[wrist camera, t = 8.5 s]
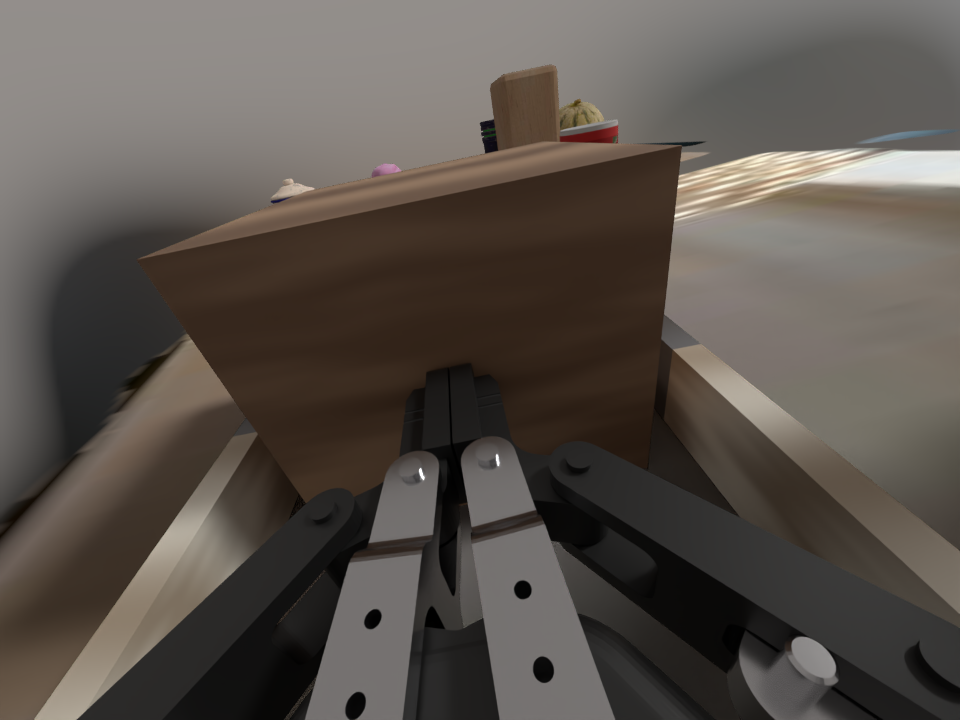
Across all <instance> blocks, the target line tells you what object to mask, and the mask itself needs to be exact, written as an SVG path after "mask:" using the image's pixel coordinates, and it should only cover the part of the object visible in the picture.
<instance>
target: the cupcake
mask: <svg viewBox="0 0 960 720" xmlns="http://www.w3.org/2000/svg"><path fill="white" fill-rule="evenodd" d="M400 171H401V170H400V169H399V168H398V167H396V166H395V165H394V164H382V165H380V166H379V167H376V168H375V169H374V170H373V172H372V177H376V176H381V175H386V174H391V173H395V172H400Z"/></svg>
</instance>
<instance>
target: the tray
mask: <svg viewBox="0 0 960 720" xmlns="http://www.w3.org/2000/svg"><path fill="white" fill-rule="evenodd" d="M654 408H655V409H656V411H657V412H658V413H659V414H660V416H661V417H662V418H663V419H664V421H665V422H666V423H667V425H668V426H669V427H670V428H671V430H672V431H673V432H674V434H675V435H676V436H677V437H678V439H679V440H680V441H681V442H682V444H683V445H684V446H685V448H686V449H687V450H688V451H689V453H690V454H691V455H692V457H693V458H694V459H695V460H696V462H697V463H698V464H699V465H700V467H701V468H702V469H703V471H704V472H705V473H706V474H707V476H708V477H709V478H710V479H711V481H712V482H713V483H714V485H715V486H716V487H717V488H718V490H719V491H720V492H721V494H722V495H723V496H724V497H725V499H726V500H727V501H728V502H729V504H730V505H731V506H732V508H733V509H734V510H735V511H736V513H737V514H738V515H739V517H740V518H742V519H744V520H746V521H748V522H750V523H752V524H754V525H756V526H758V527H760V528H762V529H764V530H766V531H768V532H770V533H772V534H774V535H776V536H778V537H780V538H782V539H784V540H786V541H788V542H790V543H792V544H794V545H796V546H798V547H800V548H802V549H804V550H806V551H808V552H810V553H812V554H814V555H816V556H818V557H820V558H822V559H824V560H826V561H828V562H830V563H832V564H834V565H836V566H838V567H840V568H842V569H844V570H846V571H848V572H850V573H852V574H854V575H856V576H858V577H860V578H862V579H864V580H866V581H868V582H870V583H872V584H874V585H876V586H878V587H880V588H882V589H884V590H886V591H888V592H890V593H892V594H894V595H896V596H898V597H900V598H902V599H904V600H906V601H908V602H910V603H912V604H914V605H916V606H918V607H920V608H922V609H924V610H926V611H928V612H930V613H932V614H934V615H936V616H938V617H940V618H942V619H944V620H946V621H948V622H950V623H952V624H954V625H955V626H957V627H959V628H960V551H959V550H958V549H957V548H955V547H954V546H953V545H952V544H950V543H949V542H948V541H947V540H945V539H944V538H943V537H942V536H940V535H939V534H938V533H937V532H935V531H934V530H933V529H932V528H930V527H929V526H928V525H927V524H925V523H924V522H923V521H922V520H920V519H919V518H918V517H917V516H915V515H914V514H913V513H912V512H910V511H909V510H908V509H907V508H905V507H904V506H903V505H902V504H900V503H899V502H898V501H897V500H895V499H894V498H893V497H892V496H890V495H889V494H888V493H887V492H885V491H884V490H883V489H882V488H880V487H879V486H878V485H877V484H875V483H874V482H873V481H872V480H870V479H869V478H868V477H867V476H865V475H864V474H863V473H862V472H860V471H859V470H858V469H857V468H855V467H854V466H853V465H852V464H850V463H849V462H848V461H847V460H845V459H844V458H843V457H842V456H840V455H839V454H838V453H837V452H835V451H834V450H833V449H832V448H830V447H829V446H828V445H827V444H825V443H824V442H823V441H822V440H820V439H819V438H818V437H817V436H815V435H814V434H813V433H812V432H810V431H809V430H808V429H807V428H805V427H804V426H803V425H802V424H800V423H799V422H798V421H797V420H795V419H794V418H793V417H792V416H790V415H789V414H788V413H787V412H785V411H784V410H783V409H782V408H780V407H779V406H778V405H777V404H775V403H774V402H773V401H772V400H770V399H769V398H768V397H767V396H765V395H764V394H763V393H762V392H760V391H759V390H758V389H757V388H755V387H754V386H753V385H752V384H750V383H749V382H748V381H747V380H745V379H744V378H743V377H742V376H740V375H739V374H738V373H737V372H735V371H734V370H733V369H732V368H730V367H729V366H728V365H727V364H725V363H724V362H723V361H722V360H720V359H719V358H718V357H717V356H715V355H714V354H713V353H712V352H710V351H709V350H708V349H707V348H705V347H704V346H703V345H702V344H700V343H699V342H698V341H697V340H695V339H694V338H693V337H692V336H690V335H689V334H688V333H687V332H685V331H684V330H683V329H682V328H680V327H679V326H678V325H677V324H675V323H674V322H673V321H672V320H670V319H669V318H668V317H667V316H665V315H664V318H663V328H662V337H661V346H660V356H659V365H658V375H657V384H656V393H655V403H654ZM298 495H299V493H298V491H297V490H296V488H295V487H294V486H293V484H292V483H291V481H290V480H289V478H288V477H287V475H286V474H285V473H284V471H283V470H282V468H281V467H280V465H279V464H278V463H277V461H276V460H275V458H274V457H273V455H272V454H271V452H270V451H269V450H268V448H267V447H266V445H265V444H264V442H263V441H262V440H261V438H260V437H259V435H258V434H257V432H256V431H255V429H254V428H253V427H252V425H251V424H250V422H249V421H248V419H247V418H245V420H244V421H243V423H242V424H241V426H240V427H239V428H238V430H237V431H236V433H235V434H234V436H233V437H232V438H231V440H230V441H229V443H228V444H227V446H226V447H225V448H224V450H223V451H222V453H221V454H220V455H219V457H218V458H217V460H216V461H215V463H214V464H213V465H212V467H211V468H210V470H209V471H208V473H207V474H206V475H205V477H204V478H203V480H202V481H201V483H200V484H199V485H198V487H197V488H196V490H195V491H194V493H193V494H192V495H191V497H190V498H189V500H188V501H187V503H186V504H185V505H184V507H183V508H182V510H181V511H180V513H179V514H178V515H177V517H176V518H175V520H174V521H173V522H172V524H171V525H170V527H169V528H168V530H167V531H166V532H165V534H164V535H163V537H162V538H161V540H160V541H159V542H158V544H157V545H156V547H155V548H154V550H153V551H152V552H151V554H150V555H149V557H148V558H147V560H146V561H145V562H144V564H143V565H142V567H141V568H140V570H139V571H138V572H137V574H136V575H135V577H134V578H133V579H132V581H131V582H130V584H129V585H128V587H127V588H126V589H125V591H124V592H123V594H122V595H121V597H120V598H119V599H118V601H117V602H116V604H115V605H114V607H113V608H112V609H111V611H110V612H109V614H108V615H107V617H106V618H105V619H104V621H103V622H102V624H101V625H100V627H99V628H98V629H97V631H96V632H95V634H94V635H93V637H92V638H91V639H90V641H89V642H88V644H87V645H86V646H85V648H84V649H83V651H82V652H81V654H80V655H79V656H78V658H77V659H76V661H75V662H74V664H73V665H72V666H71V668H70V669H69V671H68V672H67V674H66V675H65V676H64V678H63V679H62V681H61V682H60V684H59V685H58V686H57V688H56V689H55V691H54V692H53V694H52V695H51V696H50V698H49V699H48V701H47V702H46V704H45V705H44V706H43V708H42V709H41V711H40V712H39V713H38V715H37V716H36V718H35V719H34V720H77V719H78V718H79V717H80V716H81V715H82V714H83V713H84V712H85V711H86V710H87V709H88V708H89V707H90V706H92V705H93V704H94V703H95V702H96V701H97V700H98V699H99V698H100V697H101V696H102V695H103V694H104V693H105V692H106V691H107V690H109V689H110V688H111V687H112V686H113V685H114V684H115V683H116V682H117V681H118V680H119V679H120V678H121V677H122V676H123V675H124V674H126V673H127V672H128V671H129V670H130V669H131V668H132V667H133V666H134V665H135V664H136V663H137V662H138V661H139V660H140V659H142V658H143V657H144V656H145V655H146V654H147V653H148V652H149V651H150V650H151V649H152V648H153V647H154V646H155V645H156V644H157V643H159V642H160V641H161V640H162V639H163V638H164V637H165V636H166V635H167V634H168V633H169V632H170V631H171V630H172V629H173V628H174V627H176V626H177V625H178V624H179V623H180V622H181V621H182V620H183V619H184V618H185V617H186V616H187V615H188V614H189V613H190V612H191V611H193V610H194V609H195V608H196V607H197V606H198V605H199V604H200V603H201V602H202V601H203V600H204V599H205V598H206V597H207V596H208V595H210V594H211V593H212V592H213V591H214V590H215V589H216V588H217V587H218V586H219V585H220V584H221V583H222V582H223V581H224V580H225V579H227V578H228V577H229V576H230V575H231V574H232V573H233V572H234V571H235V570H236V569H237V568H238V567H239V566H240V565H241V564H242V563H244V562H245V561H246V560H247V559H248V558H249V557H250V556H251V555H252V554H253V553H254V552H255V551H256V550H257V549H258V548H259V547H261V546H262V545H263V544H264V543H265V542H266V541H267V540H268V539H269V538H270V537H271V536H272V535H273V534H274V533H275V532H277V531H278V530H279V529H280V528H281V527H282V526H283V525H284V524H285V523H286V522H287V521H288V520H289V517H290V515H291V512H292V510H293V507H294V505H295V502H296V500H297V498H298Z"/></svg>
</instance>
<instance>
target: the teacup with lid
mask: <svg viewBox="0 0 960 720" xmlns="http://www.w3.org/2000/svg"><path fill="white" fill-rule="evenodd" d="M293 183H294V182H293V180H292V179H287V180H283V184H284V185H285V186H283V187H281V188H280V189H279V190H278V192H277V193H276V194H275V195H274V196H272V197H271V200H272V201H271V202H272V203H273V204H276V203H279V202H281V201H283V200H286V199H288V198H291V197H293V196H296V195H298V194H301V193H303V192H306V191H310V190H314V188H312V187H306V186H303V185H301V184H293Z"/></svg>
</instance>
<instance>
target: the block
mask: <svg viewBox="0 0 960 720" xmlns="http://www.w3.org/2000/svg"><path fill="white" fill-rule="evenodd" d="M490 92H491V99H492V107H493V115H494V122H495V130H496V137H497V145H498V151H500V150H505V149H510V148H514V147H519V146H524V145H529V144H533V143H538V142H543V141H545V142H560V118H559V98H558V78H557V69H556V66H554V65H546V66H541V67H536V68H531V69H527V70H522V71H517V72H512V73H508V74H503V75H502V76H501V77H500V78H498V79H497V80H496V81H495V82H493V83H492V84H491V88H490Z"/></svg>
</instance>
